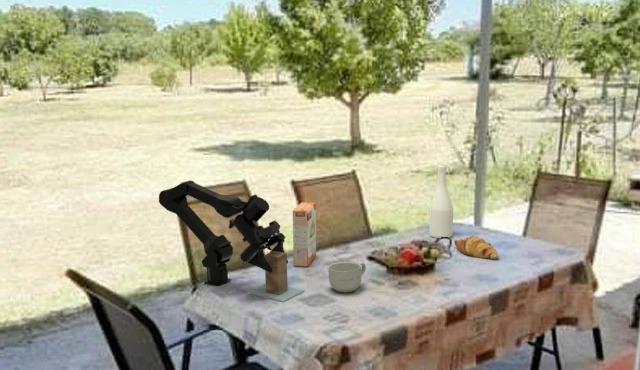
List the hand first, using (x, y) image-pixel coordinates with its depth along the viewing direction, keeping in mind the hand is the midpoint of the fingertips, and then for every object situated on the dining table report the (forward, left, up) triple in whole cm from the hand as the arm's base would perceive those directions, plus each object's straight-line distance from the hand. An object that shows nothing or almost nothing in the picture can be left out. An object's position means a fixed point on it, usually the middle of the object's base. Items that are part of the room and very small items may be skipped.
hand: (279, 267), depth 207 cm
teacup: (+16, +15, -9) cm, 24 cm away
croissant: (+37, +72, -9) cm, 81 cm away
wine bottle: (+15, +88, -9) cm, 90 cm away
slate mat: (-1, 0, -9) cm, 9 cm away
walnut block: (-1, 0, -8) cm, 8 cm away
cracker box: (-13, +31, -9) cm, 35 cm away
